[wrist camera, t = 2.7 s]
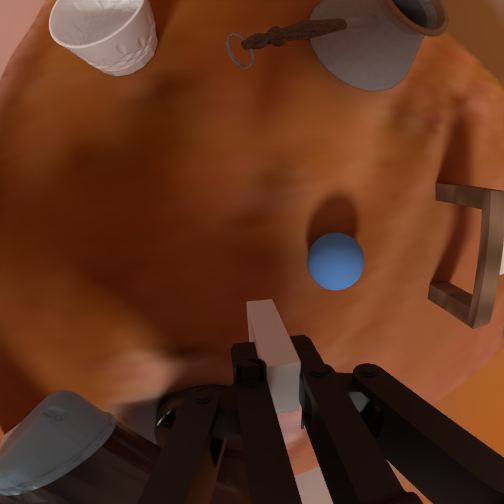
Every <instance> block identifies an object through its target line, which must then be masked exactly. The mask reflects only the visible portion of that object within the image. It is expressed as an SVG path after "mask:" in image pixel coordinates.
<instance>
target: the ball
mask: <svg viewBox="0 0 504 504" xmlns="http://www.w3.org/2000/svg"><path fill="white" fill-rule="evenodd" d="M307 265H308V270H309V273H310V275H311V277H312V278H313V279H314V281H315V282H316V283H317V284H319V285H320V286H322V287H324V288H326V289H329V290H342V289H345V288H348V287H350V286H351V285H353V284H354V283H355V282H356V281H357V280H358V278H359V277H360V275H361V273H362V271H363V267H364V255H363V252H362V249H361V247H360V245H359V244H358V243H357V242H356V240H354V239H353V238H352V237H350V236H349V235H346V234H343V233H338V232H333V233H328V234H325V235H323V236H321V237H320V238H318V239H317V240H316V241H315V242H314V243H313V245H312V246H311V248H310V250H309V253H308V258H307Z"/></svg>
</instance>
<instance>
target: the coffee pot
mask: <svg viewBox="0 0 504 504" xmlns="http://www.w3.org/2000/svg"><path fill="white" fill-rule="evenodd" d="M448 21H449V19H448V13H447V10H446V7H445V5H444V3H443V1H442V0H323V1H321V2H320V3H319V4H318V5H317V6H316V7H315V8H314V10H313V12H312V14H311V16H310V18H309V20H308V21H300V22H298V23H296V24H293V25H291V26H288V27H285V28H283V29H282V28H280V27H272V28H270V29H269V31H268V33H265V34H262V33H257V34H255V35H252V36H250V37H248V38H247V39H245V38H244V37H243V36H242V35H240V34H238V33H232V34H231V35H229V36H228V37H227V40H226V45H227V51H228V53H229V55H230V57H231V59H232V61H233V62H234V63H235V64H236V65H237V66H239V67H241V68H242V69H248V68H251V67H252V66H253V64H254V61H255V58H254V53H253V50H252V49H260V48H264V47H265V46H267V45H269V44H273V45H274V46H278V47H280V46H282V45H284V44H285V42H286V41H291V40H308V39H310V42H311V46H312V48H313V50H314V52H315V54H316V56H317V58H318V59H319V61H320V62H321V63H322V64H323V66H324V67H325V68H326V69H327V70H328V71H329V72H330V73H332V74H333V75H334V76H335V77H336V78H338V79H339V80H341V81H343V82H345V83H347V84H349V85H351V86H353V87H357V88H360V89H363V90H368V91H382V90H386V89H390V88H393V87H394V86H396V85H397V84H399V83H400V82H401V81H402V80H403V79H404V77H405V76H406V74H407V73H408V71H409V69H410V67H411V65H412V62H413V60H414V58H415V56H416V54H417V52H418V49H419V47H420V45H421V43H422V40H423V38H424V36H425V35H426V36H439V35H441V34H443V33H444V32H445V30H446V29H447V27H448ZM233 35H235V36H237V37H239V38H240V39H241V40H242V42H241V45H242V47H243V49H245V50H249V52H250V57H251V62H250V65H249V67H245V66H243V65H241V64H240V63H239V62H238V61H237V60H236V59H235V58H234V56H233V53H232V51H231V48H230V43H229V42H230V39H231V36H233Z"/></svg>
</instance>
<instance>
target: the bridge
mask: <svg viewBox="0 0 504 504" xmlns="http://www.w3.org/2000/svg"><path fill="white" fill-rule="evenodd" d="M436 200H438V201H443V202H448V203H453V204H458V205H463V206H468V207H473V208H478V209H482V222H481V235H480V246H479V255H478V264H477V271H476V278H475V284H474V290H473V295H471V294H470V293H468V292H466V291H464V290H462V289H460V288H459V287H457V286H455V285H453V284H451V283H449V282H447V281H444V282H439V283H433V284H430V288H429V295H428V299H429V300H431V301H432V302H434V303H435V304H437V305H438V306H440V307H441V308H443V309H444V310H446V311H447V312H449V313H450V314H452V315H453V316H455V317H456V318H458V319H459V320H461V321H462V322H464V323H465V324H467V325H468V326H470V327H471V328H473V329H475V328H477V327H480V326H483V325H486V324H488V323H490V319H491V315H492V311H493V306H494V301H495V296H496V291H497V286H498V280H499V274H500V268H501V261H502V253H503V244H504V191H501V190H494V189H488V188H481V187H473V186H465V185H457V184H440V183H436Z"/></svg>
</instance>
